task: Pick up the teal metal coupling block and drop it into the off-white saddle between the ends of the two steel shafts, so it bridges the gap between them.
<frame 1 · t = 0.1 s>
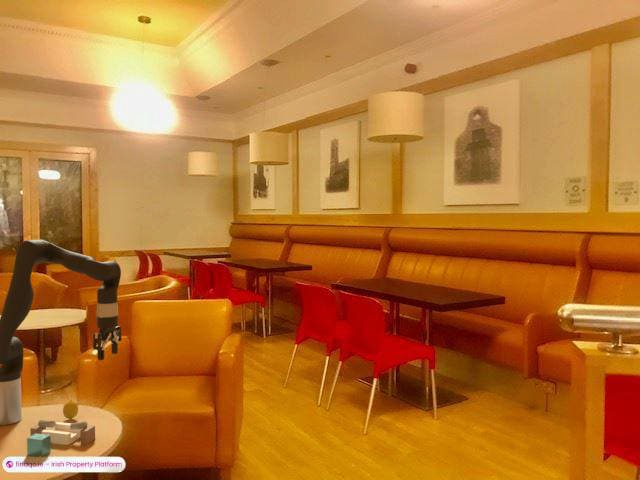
hand: (107, 356, 198), 29 cm above the table, tool pointing down, fingers open, 8 cm apart
shaft rig: (62, 438, 194), on the table
lemon: (70, 420, 211), on the table
coupler: (39, 453, 182), on the table
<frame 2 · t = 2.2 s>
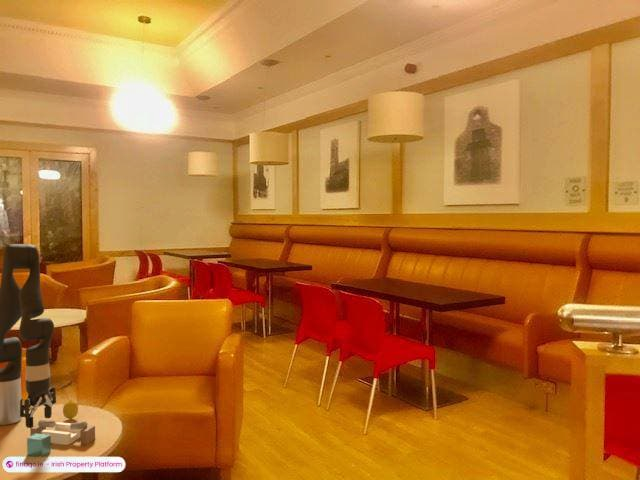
hand: (39, 422, 181), 11 cm above the table, tool pointing down, fingers open, 8 cm apart
nothing on the table moved.
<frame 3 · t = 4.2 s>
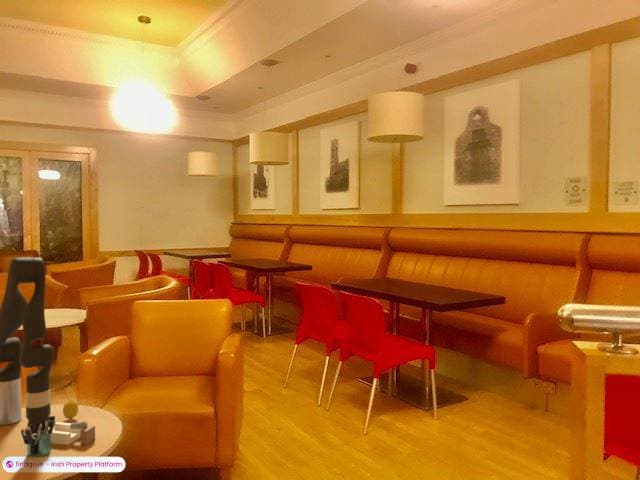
hand: (39, 450, 182), 1 cm above the table, tool pointing down, fingers closed on coupler, 4 cm apart
coupler: (39, 453, 182), on the table, touching gripper
everything else where it was.
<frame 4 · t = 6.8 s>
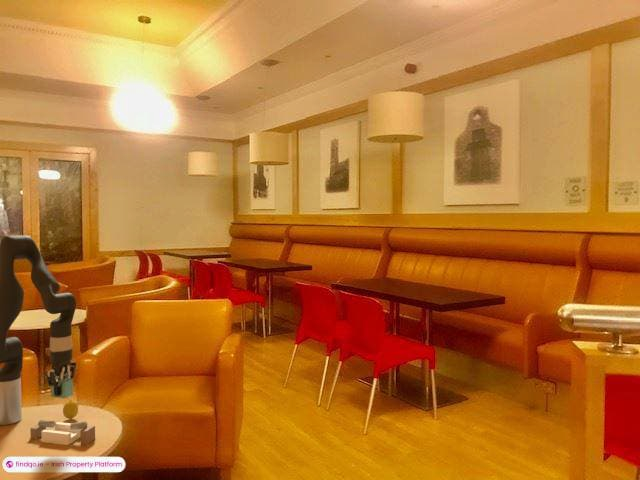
hand: (61, 393, 193), 17 cm above the table, tool pointing down, fingers closed on coupler, 4 cm apart
coupler: (62, 395, 193), point 16 cm above the table, touching gripper
everything else where it was.
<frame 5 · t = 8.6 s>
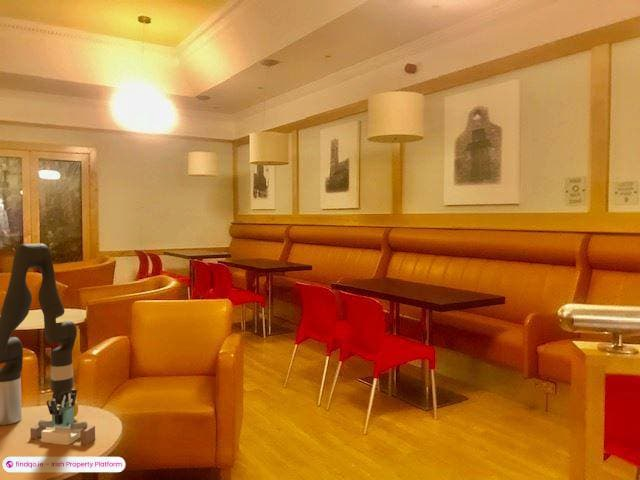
hand: (62, 421, 193), 6 cm above the table, tool pointing down, fingers closed on coupler, 4 cm apart
coupler: (63, 423, 194), point 6 cm above the table, touching gripper
everything else where it was.
when the fingers open (5 cm above the table, at t = 9.8 s): coupler drops 2 cm, resting on shaft rig.
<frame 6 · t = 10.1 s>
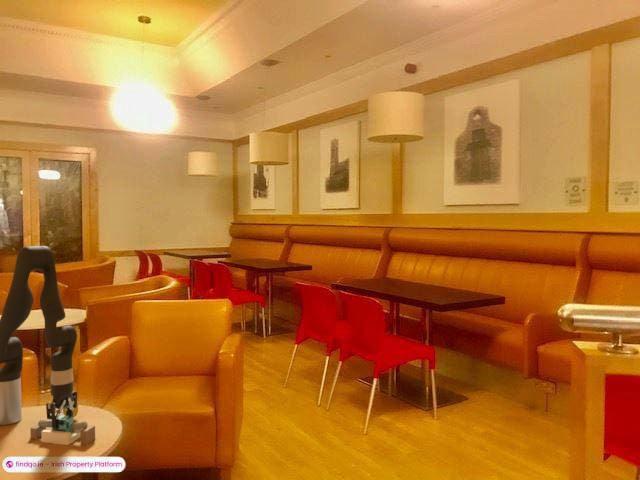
hand: (62, 424, 194), 5 cm above the table, tool pointing down, fingers open, 6 cm apart
coupler: (62, 433, 194), point 2 cm above the table, touching shaft rig
everything else where it was.
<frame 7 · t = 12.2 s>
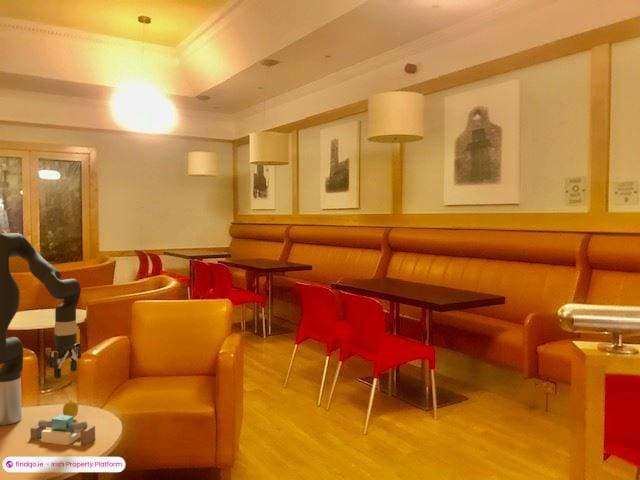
hand: (65, 374, 198), 22 cm above the table, tool pointing down, fingers open, 8 cm apart
nothing on the table moved.
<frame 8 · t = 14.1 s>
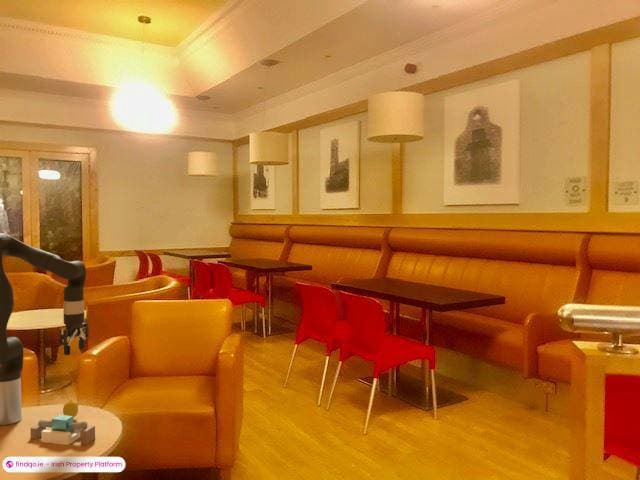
hand: (74, 352, 208), 28 cm above the table, tool pointing down, fingers open, 8 cm apart
nothing on the table moved.
at the end: coupler 0.0 cm off-centre on the shaft rig, point 2.0 cm above the shaft rig's base; coupler tilted 0°; the gripper is holding nothing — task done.
